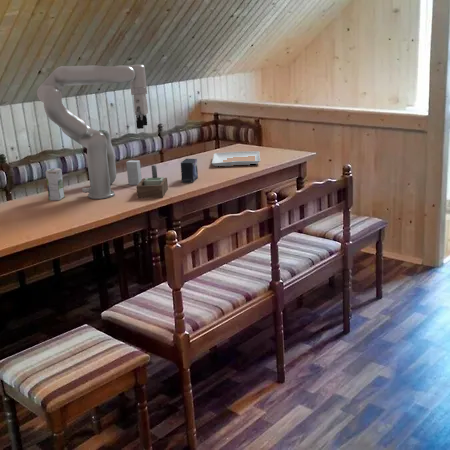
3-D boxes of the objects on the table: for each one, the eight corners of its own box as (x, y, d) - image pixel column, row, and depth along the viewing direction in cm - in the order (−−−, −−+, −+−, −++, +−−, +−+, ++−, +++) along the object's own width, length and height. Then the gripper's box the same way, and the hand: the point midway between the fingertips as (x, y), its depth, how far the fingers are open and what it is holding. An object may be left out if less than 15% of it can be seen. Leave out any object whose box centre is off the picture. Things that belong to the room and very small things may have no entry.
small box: (193, 182, 319) (192, 162, 315) (181, 182, 320) (179, 162, 317) (198, 177, 328) (197, 158, 325) (186, 178, 330) (185, 158, 327)
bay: (162, 197, 294) (161, 185, 292) (137, 198, 294) (136, 186, 293) (167, 189, 309) (167, 177, 307) (143, 189, 310) (142, 178, 308)
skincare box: (142, 183, 324) (140, 160, 320) (139, 185, 320) (136, 162, 316) (131, 182, 325) (129, 160, 322) (128, 184, 321) (125, 162, 318)
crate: (162, 190, 302) (160, 168, 299) (144, 191, 303) (142, 168, 300) (164, 186, 310) (162, 164, 306) (147, 187, 310) (145, 165, 307)
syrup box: (53, 197, 305) (49, 168, 300) (65, 197, 304) (61, 168, 299) (48, 200, 299) (44, 170, 295) (60, 200, 298) (56, 170, 294)
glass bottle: (93, 184, 326) (87, 131, 317) (110, 180, 332) (104, 128, 324) (104, 187, 319) (98, 132, 310) (121, 183, 326) (115, 129, 317)
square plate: (214, 158, 375) (213, 152, 374) (259, 156, 374) (259, 150, 373) (211, 168, 349) (211, 162, 348) (260, 166, 348) (260, 159, 347)
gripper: (143, 92, 291) (146, 129, 297) (150, 89, 308) (153, 123, 313) (127, 93, 292) (130, 130, 297) (134, 89, 309) (138, 124, 314)
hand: (142, 126), depth 305 cm, fingers open, 9 cm apart
